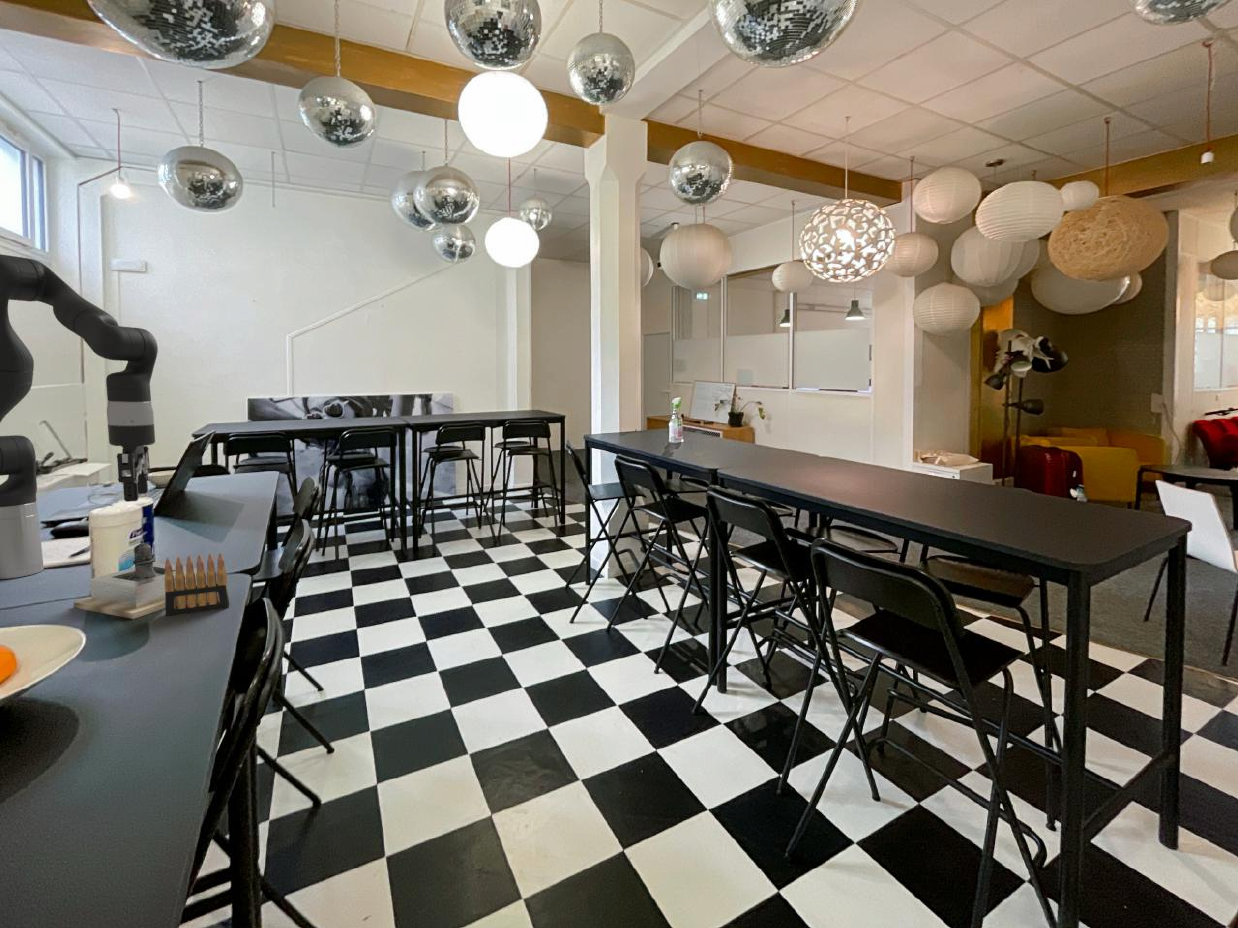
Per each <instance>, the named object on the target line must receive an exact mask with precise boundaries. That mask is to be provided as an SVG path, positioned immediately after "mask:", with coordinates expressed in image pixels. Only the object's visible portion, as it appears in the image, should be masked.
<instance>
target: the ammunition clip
mask: <svg viewBox="0 0 1238 928" xmlns="http://www.w3.org/2000/svg"><path fill="white" fill-rule="evenodd" d="M182 561H183V560H182V559H181V558H180V557H179V556H177V558H176V562H175V565H176V576H175V580H174V576H173V571H172V565H173V563H172V561H171V560H170V558H169V557H168V558H166V560H165V579H164V581H165V608H164V610H165V617H173V616H180V615H187V614H195V613H203V612H209V611H217V610H223V609H225V610H226V609H229V608H230V597H229V591H228V581H227V579H228V577H227V571H226V566H225V559H224V556H223V554H222V552H219V554H218V556H217V571H216V568H215V563H214V558H213V555H212V554H211V553H209V554H208V556H207V562H206V565H207V567H206V570H207V571H206V572H205V564H204V559H203V557H202V555H200V554H199V555H198V556H197V559H196V568H197V573H196V578H195V573H194V568H195V567H194V562H193V559H192V557H191V556H190V555H188V556H187V559H186V565H185V567H186V584H185V576H184V571H183V562H182ZM196 583H197V586H196ZM175 584H176V589H175ZM186 595H187V596H186ZM176 598H177V604H176Z"/></svg>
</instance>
